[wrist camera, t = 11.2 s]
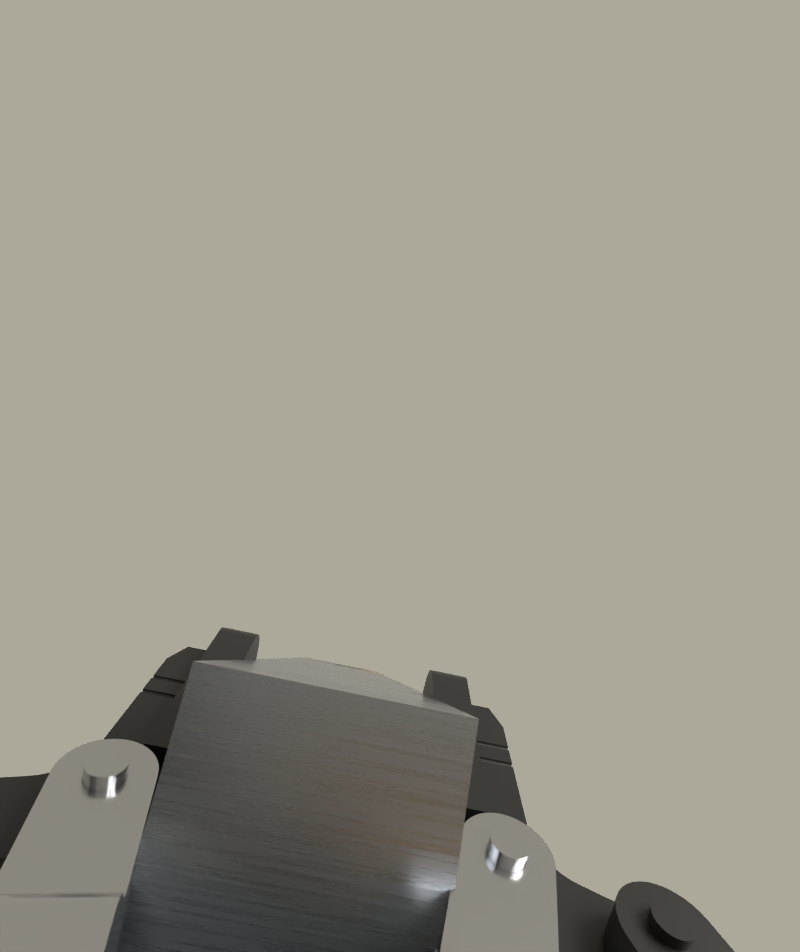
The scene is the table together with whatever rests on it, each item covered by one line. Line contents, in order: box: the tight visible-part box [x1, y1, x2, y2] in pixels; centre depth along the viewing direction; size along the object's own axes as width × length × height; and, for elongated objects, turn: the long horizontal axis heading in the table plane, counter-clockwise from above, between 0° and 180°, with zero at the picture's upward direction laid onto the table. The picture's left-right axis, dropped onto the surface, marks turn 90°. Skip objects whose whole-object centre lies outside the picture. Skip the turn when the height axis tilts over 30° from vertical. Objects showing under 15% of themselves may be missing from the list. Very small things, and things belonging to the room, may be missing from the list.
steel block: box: [116, 658, 479, 952], centre depth 18 cm, size 4×24×4 cm, turn 5°
